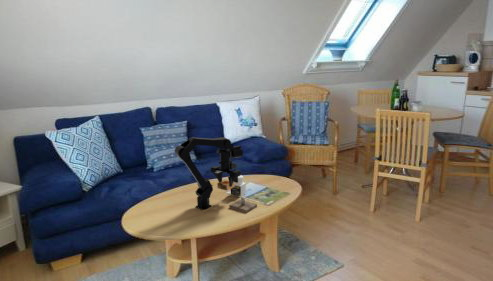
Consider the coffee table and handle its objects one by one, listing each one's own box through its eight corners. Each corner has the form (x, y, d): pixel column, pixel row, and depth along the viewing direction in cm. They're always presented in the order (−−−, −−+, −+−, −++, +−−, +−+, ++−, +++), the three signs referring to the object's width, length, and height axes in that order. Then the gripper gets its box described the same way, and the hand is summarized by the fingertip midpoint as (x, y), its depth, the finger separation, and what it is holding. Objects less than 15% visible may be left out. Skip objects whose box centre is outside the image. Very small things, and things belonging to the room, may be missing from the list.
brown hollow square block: (226, 190, 193) (226, 185, 192) (217, 188, 197) (217, 183, 196) (234, 186, 198) (234, 182, 198) (225, 184, 202) (225, 179, 202)
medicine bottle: (230, 195, 209) (230, 176, 206) (236, 191, 215) (235, 173, 212) (240, 197, 206) (240, 178, 203) (246, 193, 212) (245, 174, 209)
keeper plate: (246, 212, 184) (246, 203, 183) (229, 207, 191) (228, 198, 189) (257, 206, 192) (256, 197, 190) (240, 201, 199) (239, 193, 197)
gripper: (246, 158, 195) (247, 184, 198) (221, 154, 206) (222, 178, 209) (234, 163, 186) (235, 190, 189) (209, 158, 197) (210, 184, 200)
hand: (225, 185), depth 197 cm, fingers closed on brown hollow square block, 7 cm apart
